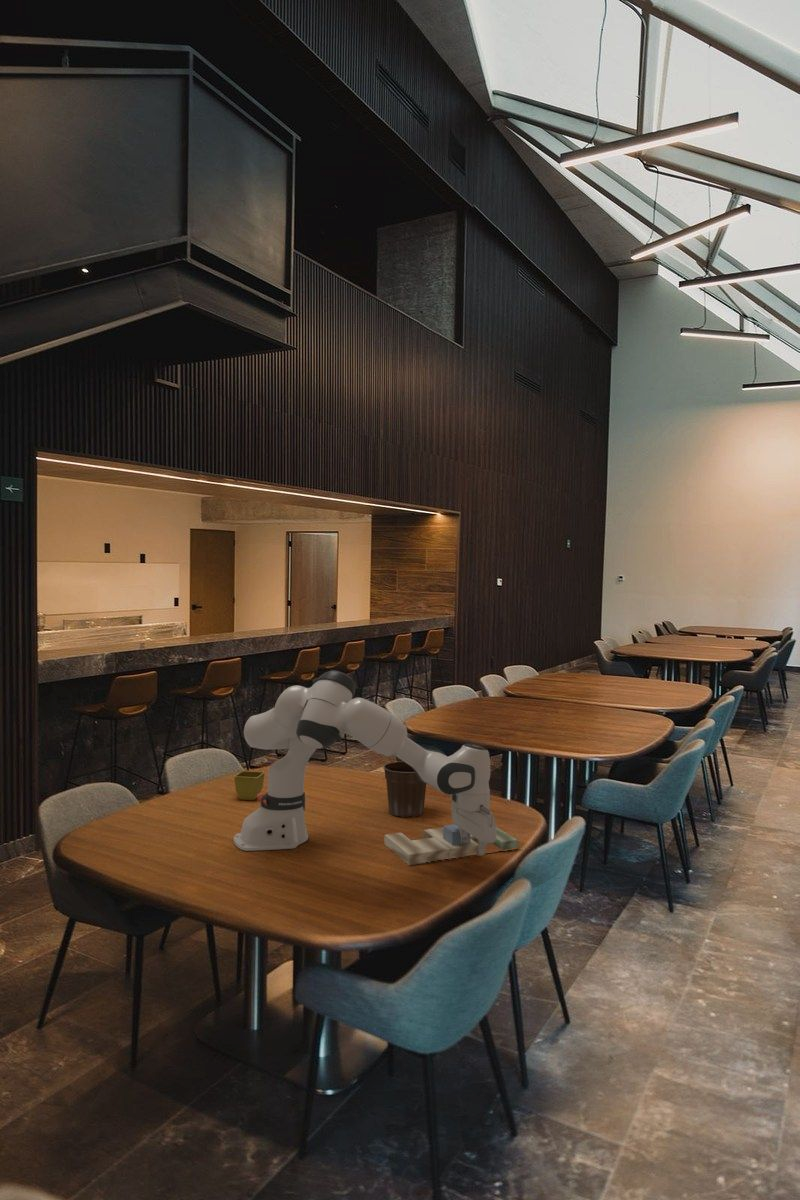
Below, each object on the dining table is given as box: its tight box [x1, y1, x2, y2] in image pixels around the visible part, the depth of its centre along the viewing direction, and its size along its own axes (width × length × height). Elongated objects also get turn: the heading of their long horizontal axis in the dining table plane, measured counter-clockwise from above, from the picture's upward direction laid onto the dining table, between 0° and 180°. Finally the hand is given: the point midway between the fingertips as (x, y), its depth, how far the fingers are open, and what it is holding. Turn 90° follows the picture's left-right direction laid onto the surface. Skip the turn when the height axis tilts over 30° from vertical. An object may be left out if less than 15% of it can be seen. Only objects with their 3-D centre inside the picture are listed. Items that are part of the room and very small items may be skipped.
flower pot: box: [234, 770, 265, 801], centre depth 276 cm, size 9×9×9 cm
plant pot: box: [382, 760, 427, 818], centre depth 264 cm, size 16×16×16 cm
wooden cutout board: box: [383, 826, 519, 866], centre depth 231 cm, size 36×18×3 cm, turn 113°
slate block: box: [443, 823, 470, 845], centre depth 227 cm, size 6×6×4 cm
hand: (472, 848), depth 218 cm, fingers open, 8 cm apart
